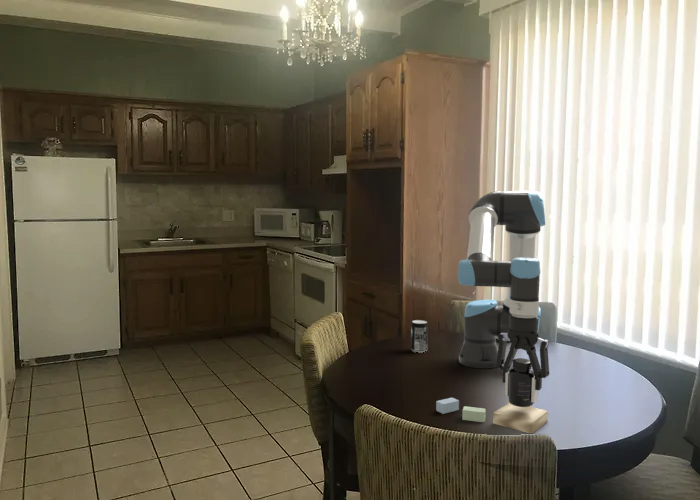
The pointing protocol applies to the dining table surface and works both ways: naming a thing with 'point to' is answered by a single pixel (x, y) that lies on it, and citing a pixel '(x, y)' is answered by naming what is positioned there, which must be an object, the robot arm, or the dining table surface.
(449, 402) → the dusty blue brick
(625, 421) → the dining table surface
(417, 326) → the beverage can
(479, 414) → the sage brick
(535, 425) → the maple block
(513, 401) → the supplement bottle
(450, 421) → the dining table surface
